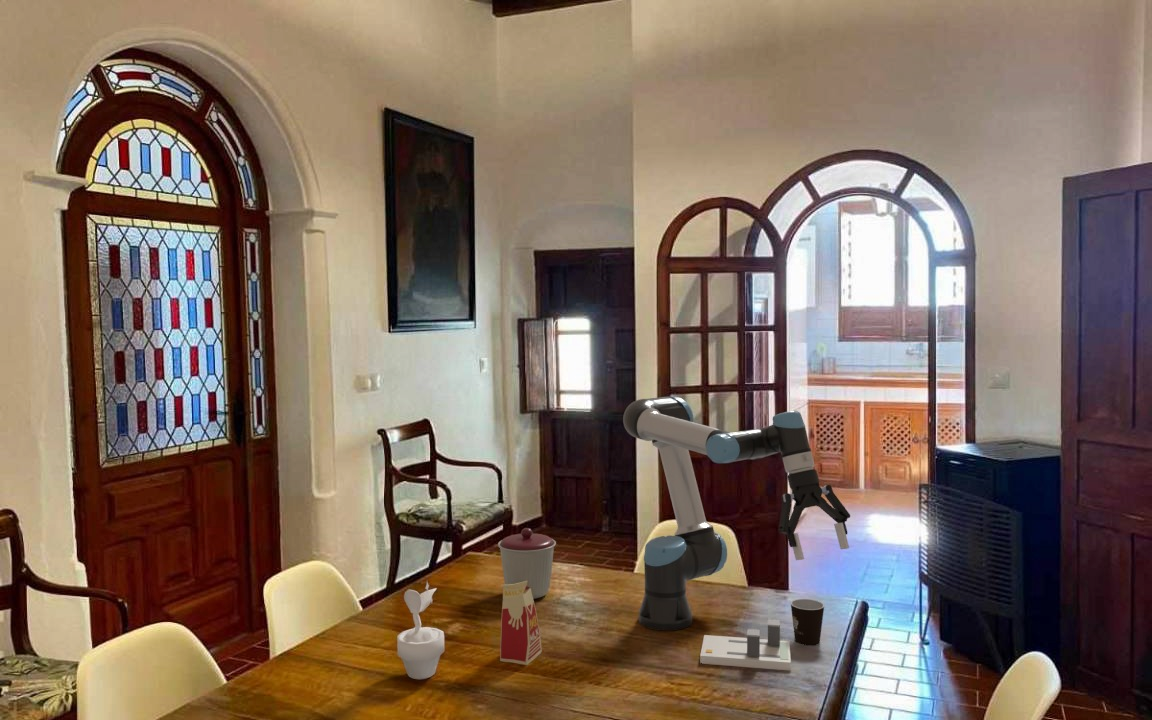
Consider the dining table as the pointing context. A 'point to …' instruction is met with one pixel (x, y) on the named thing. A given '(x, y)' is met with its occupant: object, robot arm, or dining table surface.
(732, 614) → the dining table surface
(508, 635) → the milk carton
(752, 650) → the block
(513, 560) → the canister
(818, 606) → the coffee mug
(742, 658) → the panel
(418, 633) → the potted plant
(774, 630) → the block
